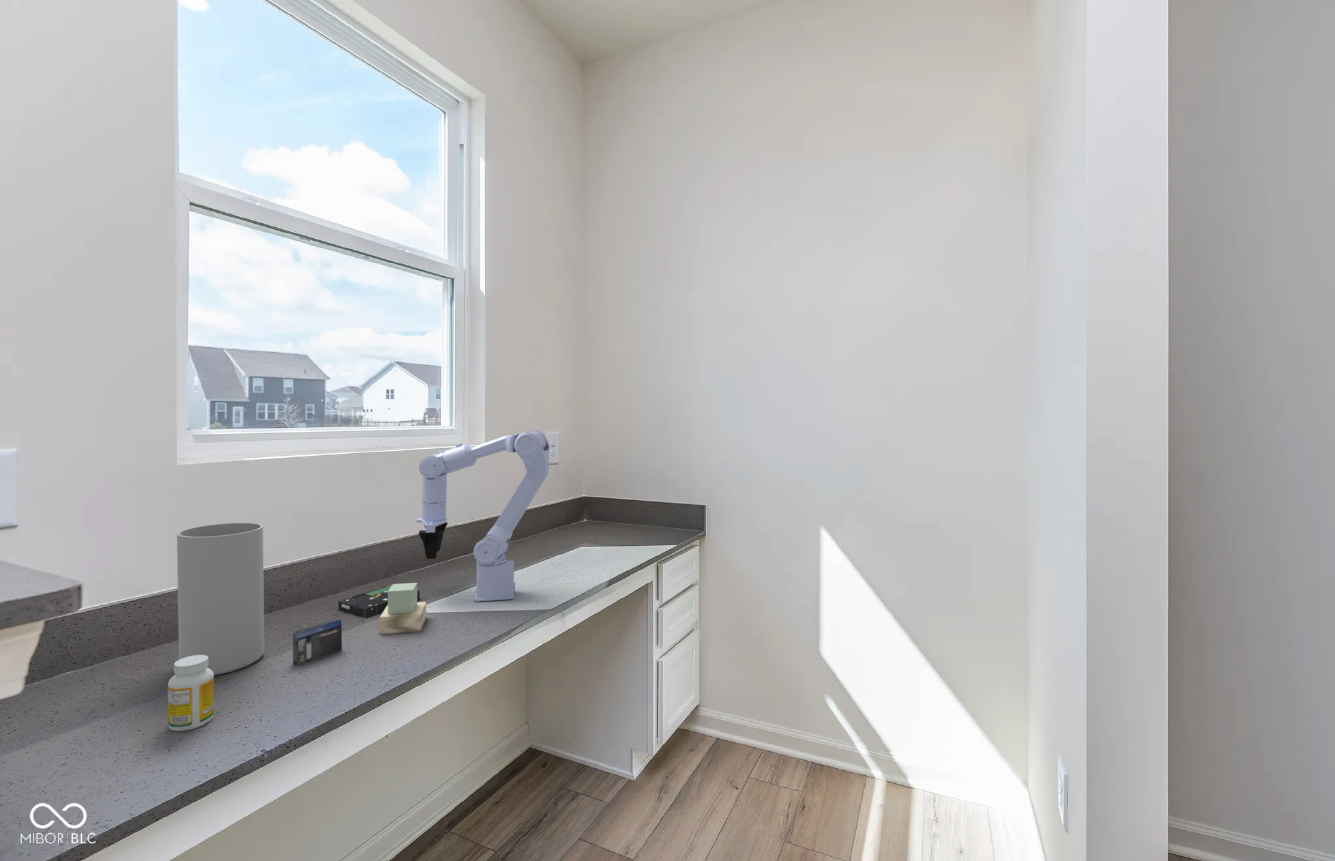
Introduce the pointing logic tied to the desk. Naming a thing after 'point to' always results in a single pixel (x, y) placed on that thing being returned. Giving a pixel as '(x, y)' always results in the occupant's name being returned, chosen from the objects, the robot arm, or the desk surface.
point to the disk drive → (367, 602)
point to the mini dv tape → (317, 641)
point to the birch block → (403, 620)
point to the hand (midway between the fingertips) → (433, 554)
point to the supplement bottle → (190, 694)
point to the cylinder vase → (221, 594)
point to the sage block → (402, 598)
